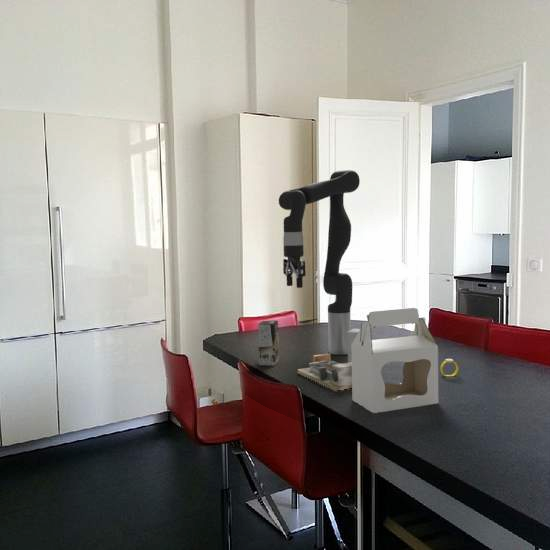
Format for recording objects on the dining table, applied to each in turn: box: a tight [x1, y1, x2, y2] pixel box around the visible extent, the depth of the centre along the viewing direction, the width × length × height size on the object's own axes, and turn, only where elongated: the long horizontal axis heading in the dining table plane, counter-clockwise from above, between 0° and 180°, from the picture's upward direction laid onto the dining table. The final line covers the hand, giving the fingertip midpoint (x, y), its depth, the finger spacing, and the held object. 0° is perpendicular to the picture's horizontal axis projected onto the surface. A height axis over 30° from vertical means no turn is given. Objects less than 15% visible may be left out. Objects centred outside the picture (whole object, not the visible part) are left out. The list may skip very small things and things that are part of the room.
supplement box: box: [347, 328, 361, 363], centre depth 221 cm, size 7×7×13 cm
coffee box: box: [257, 320, 280, 367], centre depth 225 cm, size 9×6×16 cm
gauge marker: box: [319, 367, 327, 379], centre depth 193 cm, size 2×1×4 cm, turn 114°
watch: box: [439, 358, 459, 378], centre depth 198 cm, size 6×3×6 cm, turn 94°
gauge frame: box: [297, 360, 352, 392], centre depth 199 cm, size 15×26×8 cm, turn 24°
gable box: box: [351, 307, 439, 414], centre depth 171 cm, size 22×13×28 cm, turn 109°
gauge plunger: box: [308, 352, 337, 371], centre depth 204 cm, size 10×6×5 cm, turn 114°
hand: (294, 286), depth 219 cm, fingers open, 8 cm apart
